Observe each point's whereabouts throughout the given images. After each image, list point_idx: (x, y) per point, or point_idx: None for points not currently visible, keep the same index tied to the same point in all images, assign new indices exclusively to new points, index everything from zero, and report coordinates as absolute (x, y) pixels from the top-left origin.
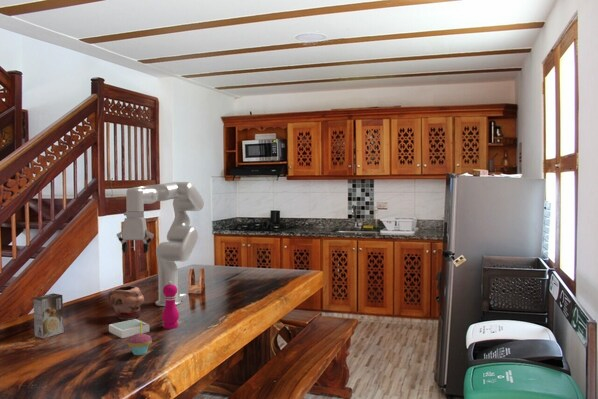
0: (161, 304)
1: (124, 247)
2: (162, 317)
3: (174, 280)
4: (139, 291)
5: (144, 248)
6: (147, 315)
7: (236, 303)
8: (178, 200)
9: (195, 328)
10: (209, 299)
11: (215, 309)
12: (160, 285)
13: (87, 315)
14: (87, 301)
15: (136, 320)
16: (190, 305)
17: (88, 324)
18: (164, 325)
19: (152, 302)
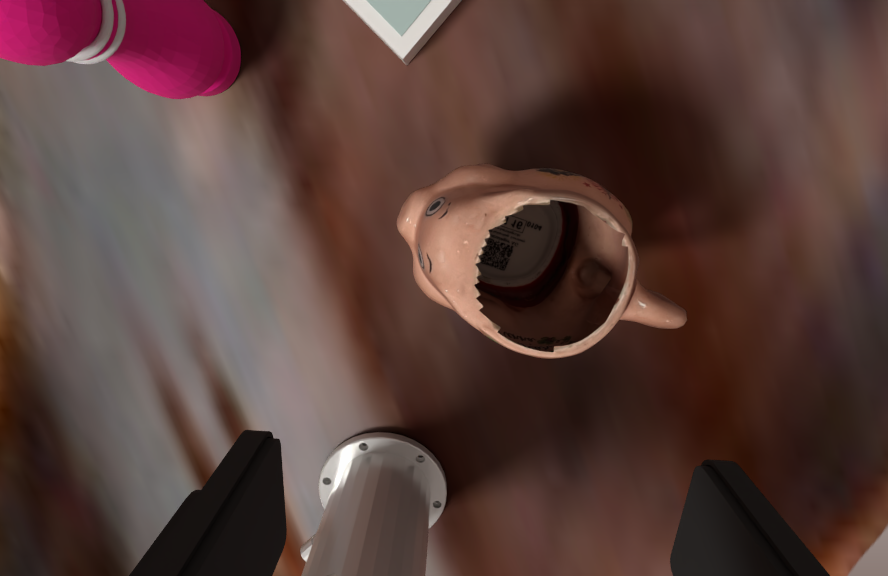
0: (398, 439)
1: (763, 549)
2: (202, 3)
3: (304, 573)
4: (424, 242)
5: (210, 494)
6: None
7: (46, 488)
8: None
9: None
10: None
11: (103, 386)
12: (399, 536)
13: (749, 267)
14: (818, 519)
15: (381, 13)
16: None
17: (693, 85)
18: (213, 10)
19: (473, 503)
